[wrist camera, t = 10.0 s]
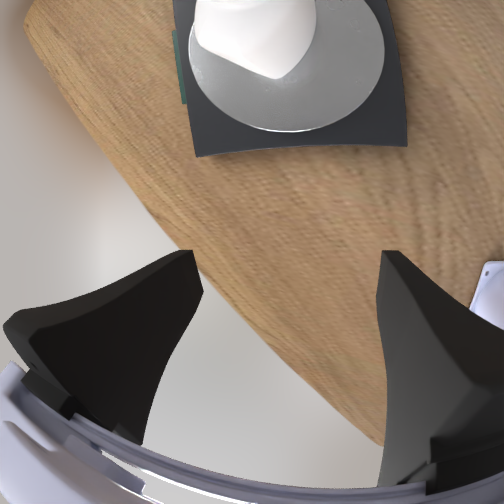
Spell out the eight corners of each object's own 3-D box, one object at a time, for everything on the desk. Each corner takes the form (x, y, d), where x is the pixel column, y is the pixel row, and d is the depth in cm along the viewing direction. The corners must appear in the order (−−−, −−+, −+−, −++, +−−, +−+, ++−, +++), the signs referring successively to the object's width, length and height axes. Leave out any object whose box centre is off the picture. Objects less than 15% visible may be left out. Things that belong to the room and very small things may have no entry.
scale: (401, 144, 15) (407, 147, 14) (199, 154, 19) (190, 158, 18) (369, -32, 9) (372, -41, 7) (175, -4, 13) (165, -10, 11)
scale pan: (392, 130, 14) (395, 131, 13) (206, 141, 17) (202, 143, 16) (361, -33, 8) (362, -37, 8) (183, -8, 11) (179, -10, 11)
